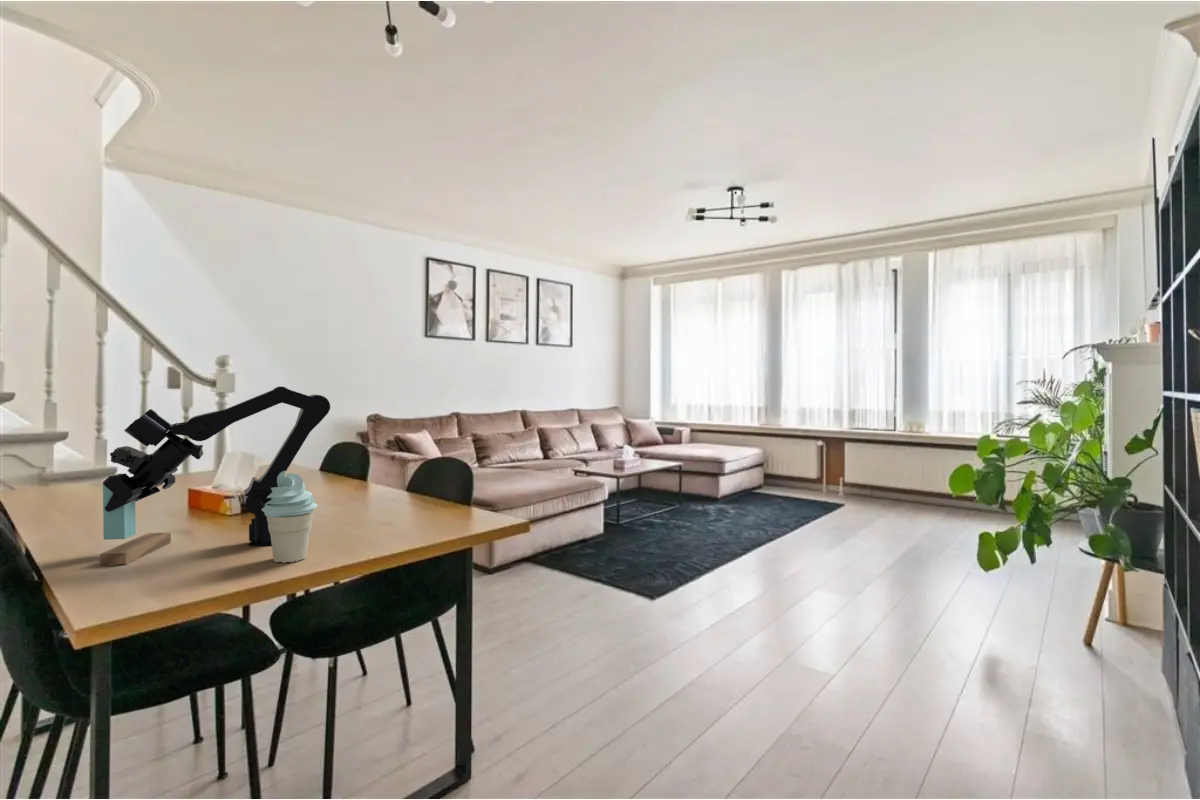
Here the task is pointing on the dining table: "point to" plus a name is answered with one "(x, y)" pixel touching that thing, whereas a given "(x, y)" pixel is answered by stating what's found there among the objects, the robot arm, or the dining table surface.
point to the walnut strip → (135, 548)
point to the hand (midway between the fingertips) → (113, 508)
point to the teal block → (118, 519)
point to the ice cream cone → (289, 518)
